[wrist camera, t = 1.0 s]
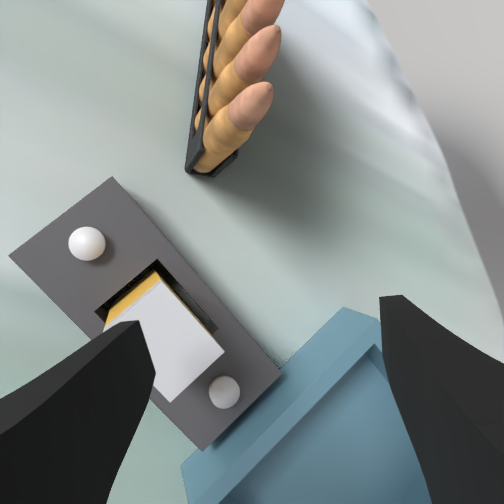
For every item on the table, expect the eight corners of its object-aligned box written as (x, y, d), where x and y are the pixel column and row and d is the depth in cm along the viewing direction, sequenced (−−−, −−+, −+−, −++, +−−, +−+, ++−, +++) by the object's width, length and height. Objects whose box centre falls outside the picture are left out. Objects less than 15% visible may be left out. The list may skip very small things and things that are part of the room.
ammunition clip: (215, 178, 24) (293, 124, 12) (184, 172, 23) (235, 110, 12) (239, -1, 24) (341, -224, 12) (208, -11, 23) (284, -255, 12)
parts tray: (316, 600, 27) (345, 657, 23) (180, 466, 24) (189, 508, 20) (450, 445, 29) (494, 474, 26) (343, 306, 26) (376, 318, 23)
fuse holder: (195, 430, 24) (204, 458, 21) (22, 253, 21) (4, 256, 18) (268, 359, 25) (286, 376, 22) (114, 182, 22) (111, 174, 19)
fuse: (159, 354, 23) (170, 402, 16) (111, 303, 22) (102, 333, 16) (198, 318, 24) (224, 351, 17) (153, 268, 23) (162, 281, 16)
